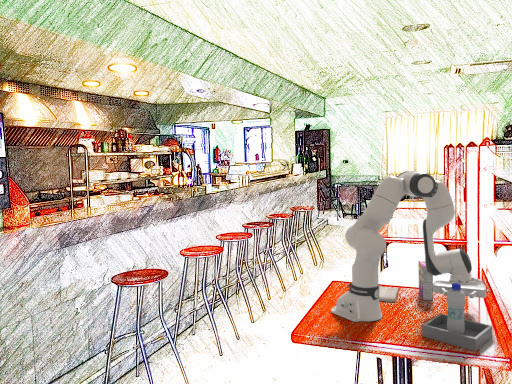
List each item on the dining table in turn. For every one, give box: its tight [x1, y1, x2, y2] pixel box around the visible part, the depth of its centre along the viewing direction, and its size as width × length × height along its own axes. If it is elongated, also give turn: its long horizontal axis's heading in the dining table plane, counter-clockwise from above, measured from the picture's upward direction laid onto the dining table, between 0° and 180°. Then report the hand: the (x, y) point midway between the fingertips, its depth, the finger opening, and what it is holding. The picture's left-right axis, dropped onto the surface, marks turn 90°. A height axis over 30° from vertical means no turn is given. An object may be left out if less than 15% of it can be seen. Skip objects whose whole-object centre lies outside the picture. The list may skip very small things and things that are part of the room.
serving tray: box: [421, 313, 493, 352], centre depth 175 cm, size 20×16×4 cm
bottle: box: [446, 283, 467, 335], centre depth 175 cm, size 7×7×20 cm
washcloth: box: [379, 285, 399, 303], centre depth 225 cm, size 12×18×3 cm, turn 159°
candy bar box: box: [417, 260, 434, 301], centre depth 221 cm, size 11×5×16 cm, turn 170°
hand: (458, 295), depth 182 cm, fingers open, 8 cm apart
